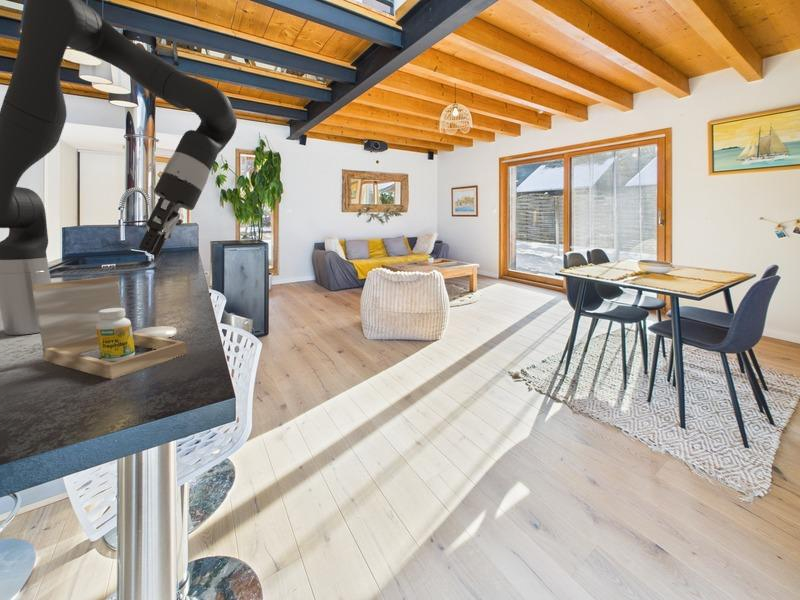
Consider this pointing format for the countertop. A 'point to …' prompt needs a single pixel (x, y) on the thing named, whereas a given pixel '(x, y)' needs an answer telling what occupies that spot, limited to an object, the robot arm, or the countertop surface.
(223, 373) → the countertop surface
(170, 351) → the cold frame
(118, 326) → the supplement bottle
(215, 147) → the robot arm
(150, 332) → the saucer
